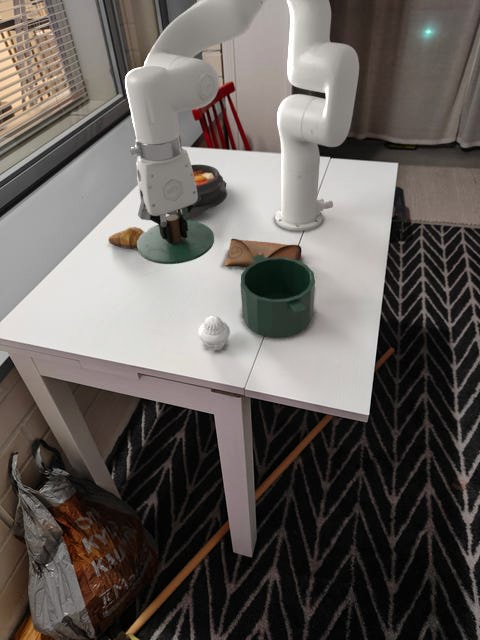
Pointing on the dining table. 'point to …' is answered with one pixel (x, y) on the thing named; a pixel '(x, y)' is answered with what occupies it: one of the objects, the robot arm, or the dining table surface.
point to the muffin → (214, 333)
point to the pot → (277, 296)
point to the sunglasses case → (258, 252)
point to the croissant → (126, 238)
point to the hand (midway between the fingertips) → (175, 237)
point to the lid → (176, 242)
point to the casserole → (207, 189)
